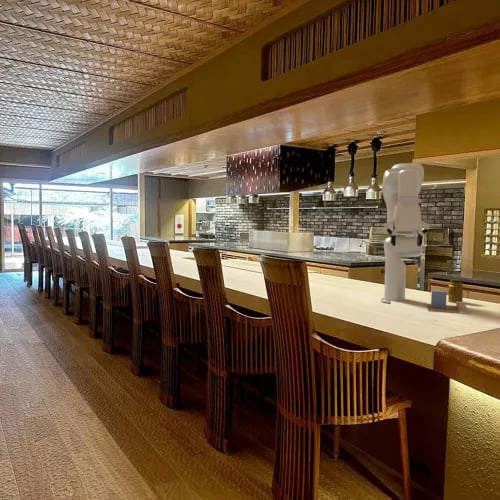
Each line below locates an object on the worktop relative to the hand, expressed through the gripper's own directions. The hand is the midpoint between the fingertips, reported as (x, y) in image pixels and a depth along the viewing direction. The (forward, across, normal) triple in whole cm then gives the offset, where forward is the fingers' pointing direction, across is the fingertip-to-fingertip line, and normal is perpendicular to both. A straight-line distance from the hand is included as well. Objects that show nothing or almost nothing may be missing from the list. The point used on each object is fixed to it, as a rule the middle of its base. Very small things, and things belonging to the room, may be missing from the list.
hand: (406, 245), depth 170 cm
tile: (+28, -20, -20) cm, 40 cm away
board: (+29, -22, -16) cm, 40 cm away
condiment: (+30, -33, -35) cm, 57 cm away
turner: (+28, -28, -15) cm, 42 cm away
